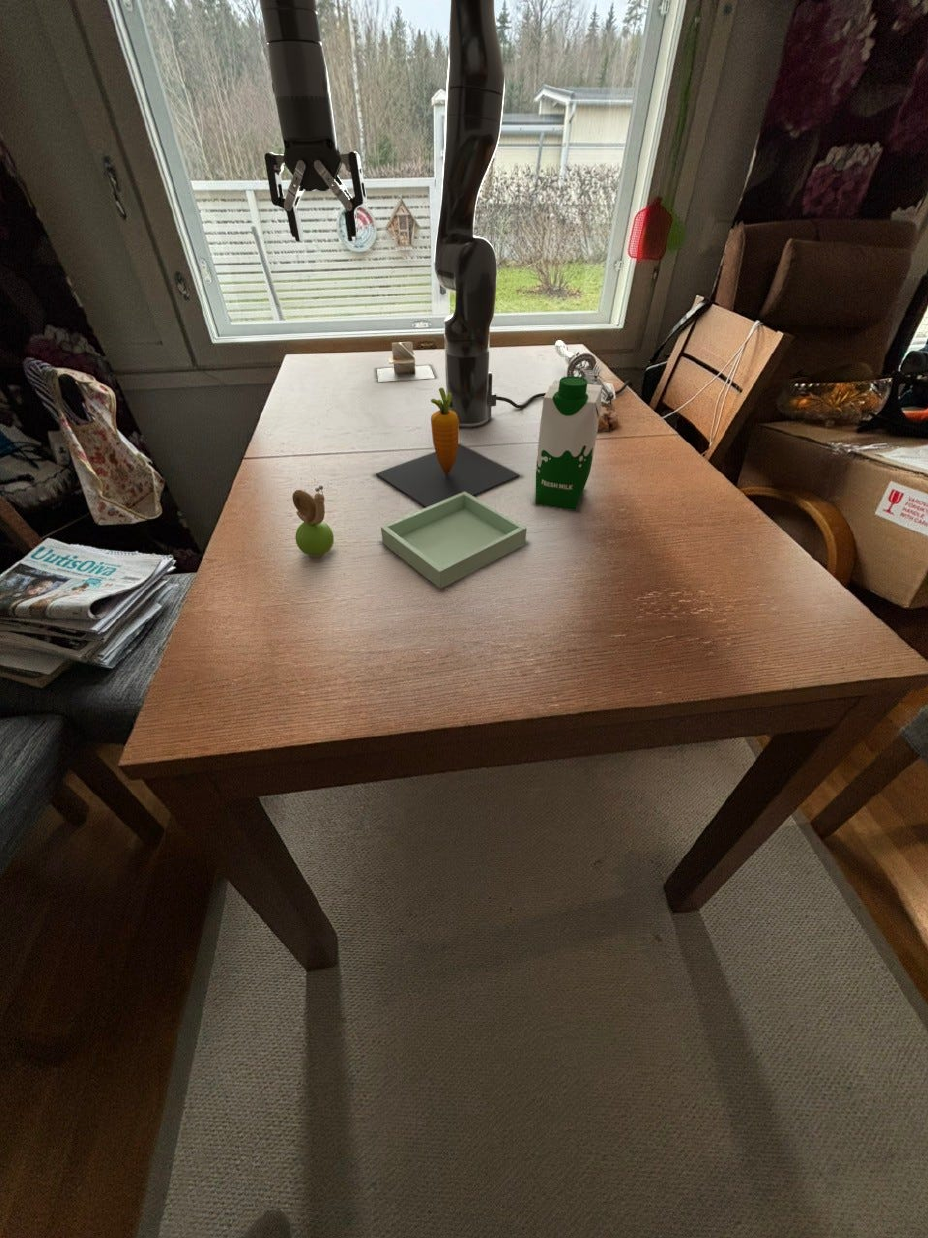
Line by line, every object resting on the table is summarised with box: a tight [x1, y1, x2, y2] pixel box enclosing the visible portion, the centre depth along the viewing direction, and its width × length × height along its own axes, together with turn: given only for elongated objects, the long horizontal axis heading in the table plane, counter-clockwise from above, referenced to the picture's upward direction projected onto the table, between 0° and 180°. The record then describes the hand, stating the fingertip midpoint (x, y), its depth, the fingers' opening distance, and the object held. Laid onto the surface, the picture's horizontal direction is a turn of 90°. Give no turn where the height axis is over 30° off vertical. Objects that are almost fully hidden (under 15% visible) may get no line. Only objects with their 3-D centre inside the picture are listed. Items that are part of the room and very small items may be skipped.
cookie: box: [597, 405, 619, 432], centre depth 110 cm, size 10×11×3 cm
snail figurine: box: [291, 485, 335, 557], centre depth 72 cm, size 5×6×12 cm
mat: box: [375, 443, 520, 508], centre depth 94 cm, size 20×18×1 cm
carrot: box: [430, 387, 460, 474], centre depth 88 cm, size 5×5×15 cm
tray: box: [380, 492, 528, 590], centre depth 77 cm, size 17×15×3 cm
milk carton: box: [535, 375, 602, 511], centre depth 81 cm, size 9×9×20 cm
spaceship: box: [554, 339, 617, 406], centre depth 126 cm, size 8×35×8 cm
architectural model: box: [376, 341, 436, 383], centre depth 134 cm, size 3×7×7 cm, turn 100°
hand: (325, 240), depth 80 cm, fingers open, 8 cm apart
